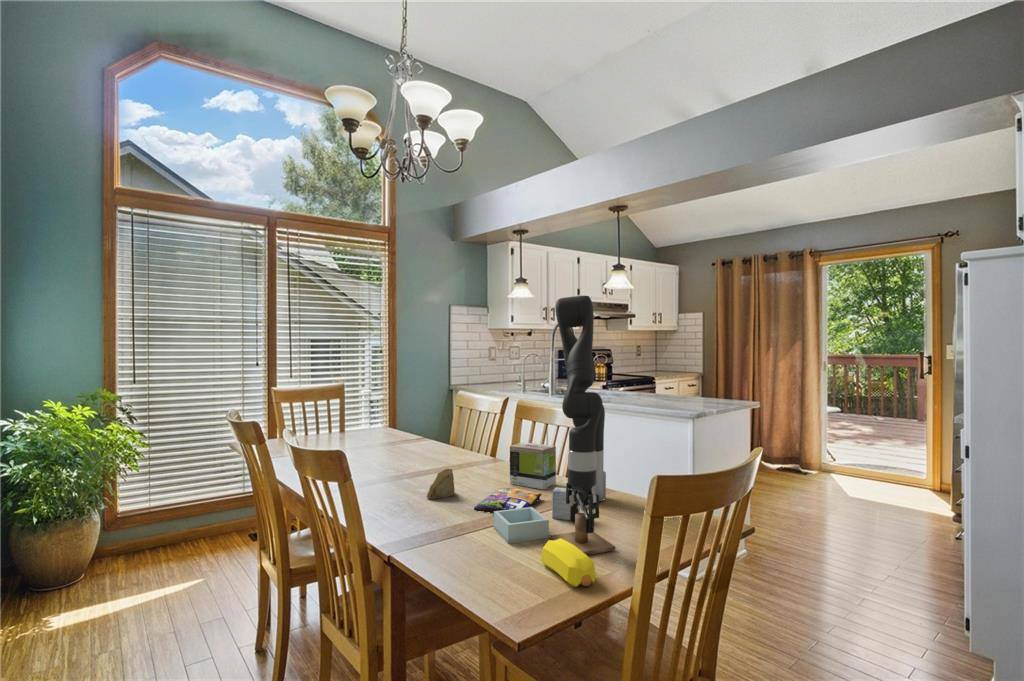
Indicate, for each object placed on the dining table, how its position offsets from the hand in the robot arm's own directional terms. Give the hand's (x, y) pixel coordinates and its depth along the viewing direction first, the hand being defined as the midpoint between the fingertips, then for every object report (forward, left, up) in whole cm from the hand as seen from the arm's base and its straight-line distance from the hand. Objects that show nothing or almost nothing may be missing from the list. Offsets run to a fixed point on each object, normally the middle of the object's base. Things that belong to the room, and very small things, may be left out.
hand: (581, 527), depth 143 cm
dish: (+12, -14, -5) cm, 19 cm away
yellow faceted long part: (+11, +14, -5) cm, 18 cm away
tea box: (-11, -59, -5) cm, 60 cm away
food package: (+7, -39, -6) cm, 40 cm away
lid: (0, 0, -4) cm, 4 cm away
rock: (+25, -56, -5) cm, 62 cm away
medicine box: (-6, -21, -5) cm, 22 cm away
